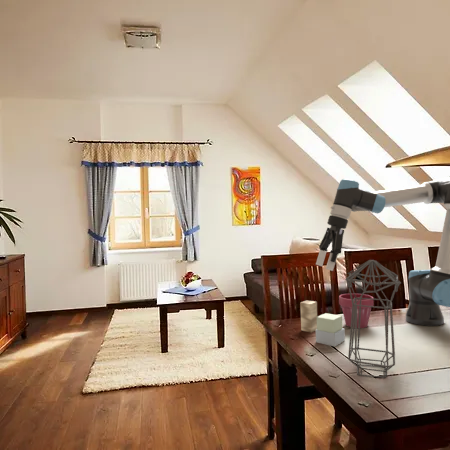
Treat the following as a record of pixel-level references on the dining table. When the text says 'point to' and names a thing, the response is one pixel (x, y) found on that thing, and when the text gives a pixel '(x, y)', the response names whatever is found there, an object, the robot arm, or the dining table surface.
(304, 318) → the pillar
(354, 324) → the geometric lantern
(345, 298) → the plant pot
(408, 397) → the dining table surface
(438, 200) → the robot arm
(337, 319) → the tower top
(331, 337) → the tower base
